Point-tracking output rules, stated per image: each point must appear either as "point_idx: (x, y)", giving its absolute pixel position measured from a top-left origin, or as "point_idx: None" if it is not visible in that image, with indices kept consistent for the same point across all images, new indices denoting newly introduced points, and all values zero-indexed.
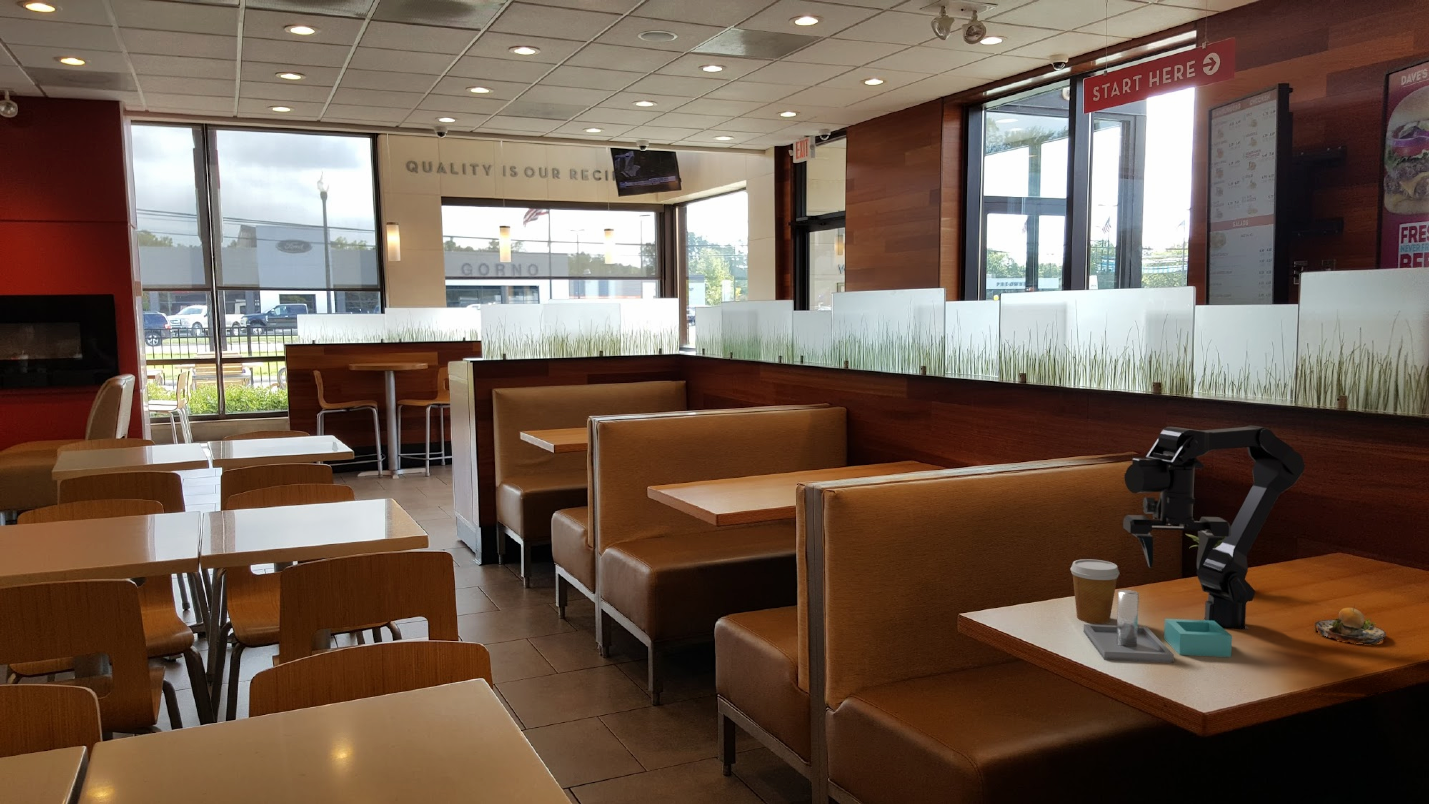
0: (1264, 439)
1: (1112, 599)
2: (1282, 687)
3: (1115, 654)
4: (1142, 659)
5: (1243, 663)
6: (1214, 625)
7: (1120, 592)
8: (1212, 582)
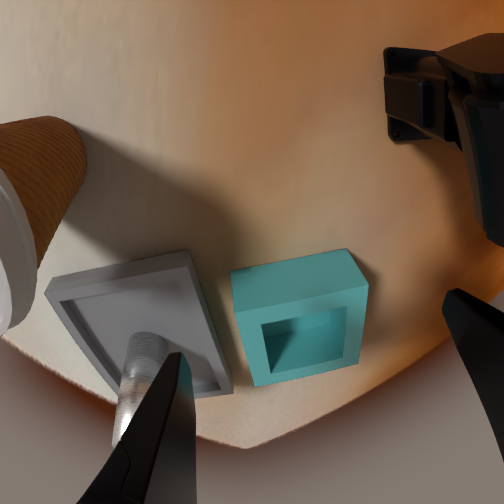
0: None
1: (62, 208)
2: (362, 387)
3: None
4: None
5: None
6: (352, 320)
7: None
8: (473, 189)
